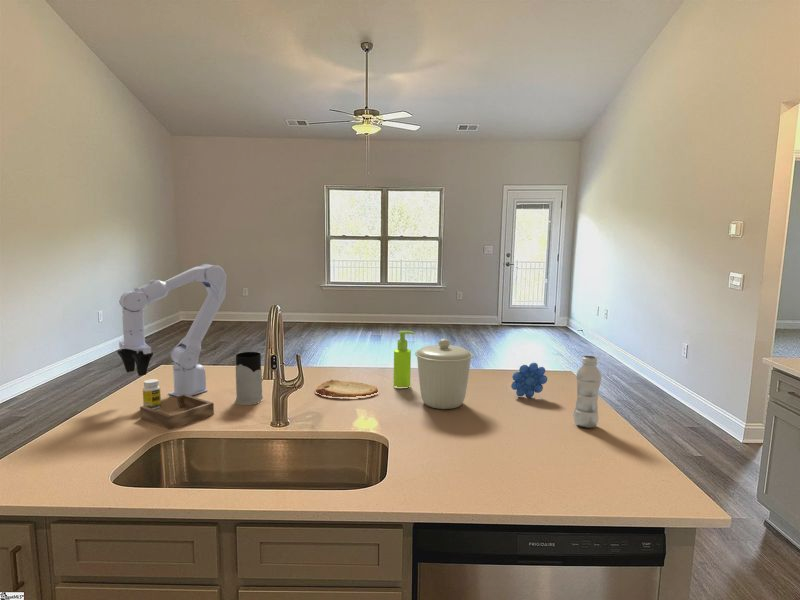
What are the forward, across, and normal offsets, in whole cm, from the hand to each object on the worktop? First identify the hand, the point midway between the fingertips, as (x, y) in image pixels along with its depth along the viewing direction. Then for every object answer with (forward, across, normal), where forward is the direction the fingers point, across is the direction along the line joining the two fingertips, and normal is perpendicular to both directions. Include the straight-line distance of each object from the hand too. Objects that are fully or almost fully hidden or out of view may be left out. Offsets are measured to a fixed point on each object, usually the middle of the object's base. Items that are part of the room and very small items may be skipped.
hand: (136, 373), depth 153 cm
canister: (+10, +79, +54) cm, 96 cm away
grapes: (+10, +99, +77) cm, 126 cm away
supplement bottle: (+10, +8, 0) cm, 12 cm away
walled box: (+9, +21, 0) cm, 23 cm away
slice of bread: (+10, +47, +45) cm, 66 cm away
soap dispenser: (+10, +59, +62) cm, 86 cm away
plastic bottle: (+10, +121, +61) cm, 136 cm away
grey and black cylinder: (+10, +26, +24) cm, 37 cm away
